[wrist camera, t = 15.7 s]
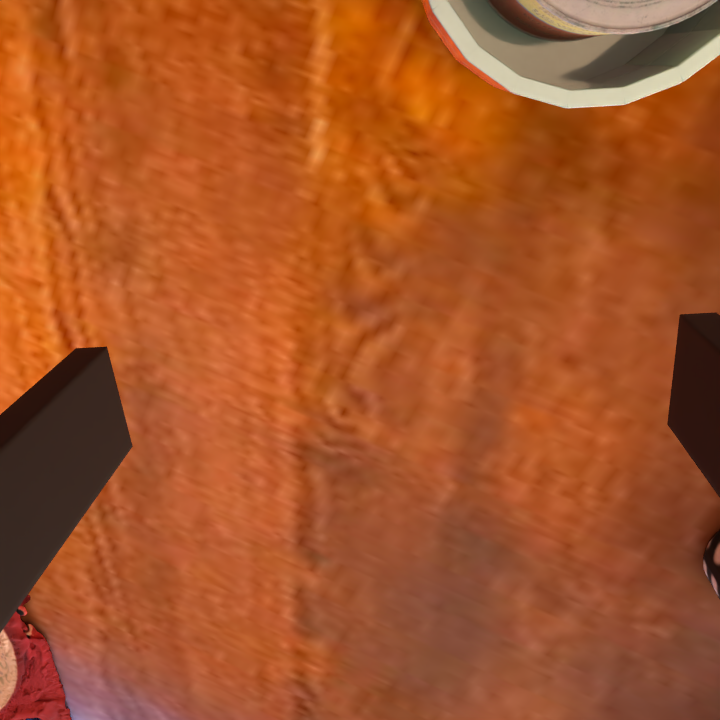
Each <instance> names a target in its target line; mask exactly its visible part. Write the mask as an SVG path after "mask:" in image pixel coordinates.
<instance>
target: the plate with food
mask: <svg viewBox="0 0 720 720" xmlns="http://www.w3.org/2000/svg"><path fill="white" fill-rule="evenodd" d="M29 600H30V596H29V595H27V596H26V598H25V599H24V600H23V602H22V603H21V605H20V606H19V607H18V609H17V610H16V612H15V613H14V614H13V616H12V617H11V619H10V620H9V622H8V623H7V624H6V626H5V627H4V629H3V630H2V631H1V633H0V720H25V719H26V718H39V719H42V720H71V717H70V709H68V708H66V707H65V694H64V691H63V689H62V686H63V685H62V684H61V682H60V681H59V675H58V674H57V671H56V668H55V665H54V661H53V659H52V653H51V652H50V651H49V650H50V647H49V645H48V643H47V641H46V639H45V638H44V636H42V634H40V632H37V631H36V629H35V628H34V626H33V625H31V624H28V628H29V629H28V628H27V627H26V625H25V623H24V622H22V621H21V619H20V616H24V615H26V614H27V611H26V609H25V607H24V606H23V605H24V604H25V603H27V602H28V601H29ZM27 637H28V638H29V639H28V638H27Z"/></svg>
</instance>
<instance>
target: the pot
mask: <svg viewBox="0 0 720 720" xmlns="http://www.w3.org/2000/svg"><path fill="white" fill-rule="evenodd" d="M422 3H423V7H424V10H425V13H426V16H427V19H428V20H429V23H430V24H431V25H432V27H433V28H434V30H435V31H436V33H437V34H438V35H439V37H440V39H441V40H442V42H443V43H444V44H445V46H446V47H447V48H448V50H449V51H450V52H451V54H452V55H453V57H454V58H455V59H457V61H458V62H459V63H461V64H462V65H464V66H465V67H466V68H468V69H469V70H470V71H471V72H473V73H475V74H476V75H477V76H479V77H480V78H482V79H483V80H484V81H486V82H487V83H489V84H490V85H491V86H494V87H496V88H499V89H502V90H505V91H508V92H511V93H514V94H517V95H521V96H524V97H528V98H531V99H535V100H538V101H542V102H545V103H549V104H552V105H556V106H559V107H563V108H582V107H599V106H616V105H624V104H628V103H631V102H633V101H636V100H639V99H641V98H644V97H646V96H649V95H652V94H654V93H657V92H659V91H662V90H665V89H667V88H670V87H673V86H675V85H678V84H680V83H682V82H684V81H685V80H687V79H688V78H689V77H691V76H692V75H693V74H695V73H696V72H697V71H699V70H700V69H701V68H703V67H704V66H705V65H707V64H708V63H709V62H711V61H712V60H713V59H715V58H716V57H717V56H719V55H720V0H718V1H716V2H715V3H713V4H712V5H710V6H709V7H707V8H706V9H704V10H703V11H701V12H699V13H697V14H695V15H694V16H692V17H690V18H688V19H685V20H683V21H681V22H679V23H676V24H673V25H671V26H668V27H665V28H662V29H657V30H653V31H649V32H642V33H635V34H607V35H600V36H594V37H591V38H587V39H583V40H577V41H566V42H558V41H548V40H543V39H538V38H535V37H532V36H529V35H527V34H525V33H522V32H521V31H519V30H517V29H515V28H514V27H512V26H511V25H509V24H508V23H507V22H505V21H504V20H503V19H502V18H501V17H500V16H499V15H498V14H497V13H496V12H495V11H494V10H493V9H492V7H491V6H490V5H489V3H488V2H487V0H422Z"/></svg>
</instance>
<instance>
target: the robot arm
mask: <svg viewBox="0 0 720 720" xmlns="http://www.w3.org/2000/svg"><path fill="white" fill-rule="evenodd" d="M668 426H669V427H670V428H671V430H672V431H673V433H674V434H675V435H676V437H677V438H678V440H679V441H680V442H681V444H682V445H683V447H684V448H685V449H686V451H687V452H688V454H689V455H690V456H691V458H692V459H693V461H694V462H695V463H696V465H697V466H698V468H699V469H700V470H701V472H702V473H703V475H704V476H705V477H706V479H707V480H708V482H709V483H710V484H711V486H712V487H713V489H714V490H715V491H716V493H717V494H718V496H719V497H720V315H719V314H717V313H700V314H682V315H680V318H679V327H678V336H677V345H676V354H675V362H674V371H673V380H672V389H671V398H670V407H669V415H668ZM131 448H132V443H131V439H130V435H129V431H128V427H127V423H126V420H125V416H124V412H123V408H122V404H121V400H120V396H119V392H118V388H117V385H116V381H115V377H114V373H113V369H112V365H111V361H110V357H109V353H108V350H107V347H94V348H76V349H75V350H74V351H73V352H71V353H70V354H69V355H68V356H67V357H66V358H65V359H63V360H62V361H61V362H60V363H59V364H58V365H57V366H55V367H54V368H53V369H52V370H51V371H50V372H49V373H47V374H46V375H45V376H44V377H43V378H42V379H41V380H39V381H38V382H37V383H36V384H35V385H34V386H33V387H31V388H30V389H29V390H28V391H27V392H26V393H25V394H23V395H22V396H21V397H20V398H19V399H18V400H17V401H15V402H14V403H13V404H12V405H11V406H10V407H9V408H8V409H6V410H5V411H4V412H3V413H2V414H1V415H0V633H1V631H2V630H3V629H4V627H5V626H6V624H7V623H8V622H9V620H10V619H11V617H12V616H13V614H14V613H15V612H16V610H17V609H18V607H19V606H20V605H21V603H22V602H23V600H24V599H25V598H26V596H27V595H28V593H29V592H30V590H31V589H32V588H33V586H34V585H35V583H36V582H37V581H38V579H39V578H40V576H41V575H42V574H43V572H44V571H45V569H46V568H47V566H48V565H49V564H50V562H51V561H52V559H53V558H54V557H55V555H56V554H57V552H58V551H59V549H60V548H61V547H62V545H63V544H64V542H65V541H66V540H67V538H68V537H69V535H70V534H71V533H72V531H73V530H74V528H75V527H76V525H77V524H78V523H79V521H80V520H81V518H82V517H83V516H84V514H85V513H86V511H87V510H88V509H89V507H90V506H91V504H92V503H93V501H94V500H95V499H96V497H97V496H98V494H99V493H100V492H101V490H102V489H103V487H104V486H105V485H106V483H107V482H108V480H109V479H110V477H111V476H112V475H113V473H114V472H115V470H116V469H117V468H118V466H119V465H120V463H121V462H122V460H123V459H124V458H125V456H126V455H127V453H128V452H129V451H130V449H131Z"/></svg>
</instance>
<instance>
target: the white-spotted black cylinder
mask: <svg viewBox="0 0 720 720" xmlns="http://www.w3.org/2000/svg"><path fill="white" fill-rule="evenodd" d="M703 567H704V570H705V574H706V576H707V578H708V579H709V581H710V583H711V585H712V586H713V588H714V590H715V592H716V593H717V595H718V597H719V599H720V531H718V532H717V533H716V534H715V536H714V537H713V538H712V539H711V541H710V542H709V544H708V546H707V548H706V550H705V554H704V558H703Z"/></svg>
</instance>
